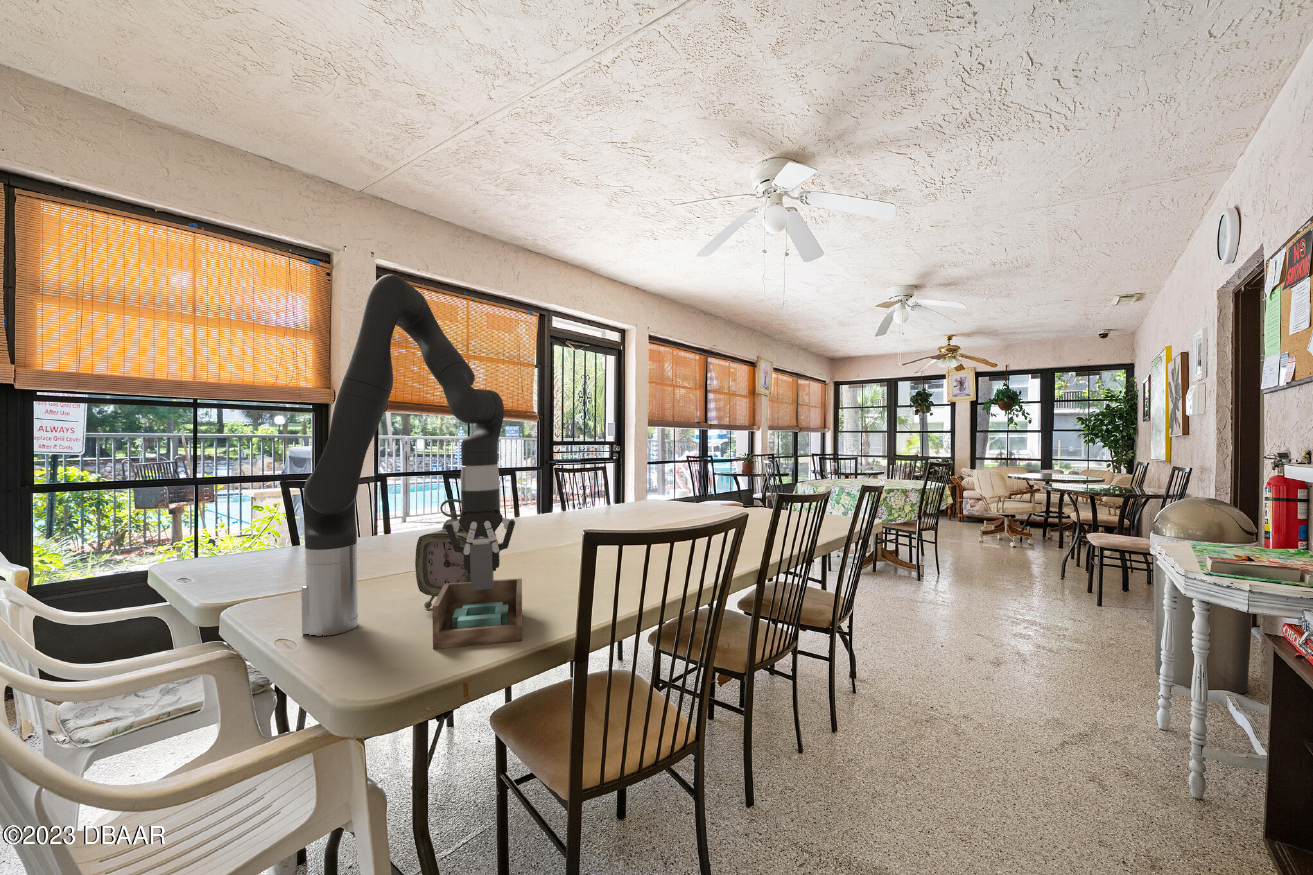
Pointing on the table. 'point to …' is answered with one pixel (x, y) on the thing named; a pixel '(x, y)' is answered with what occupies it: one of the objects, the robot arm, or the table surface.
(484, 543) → the block
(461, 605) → the walled box
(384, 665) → the table surface
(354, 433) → the robot arm
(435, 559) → the tabletop clock
